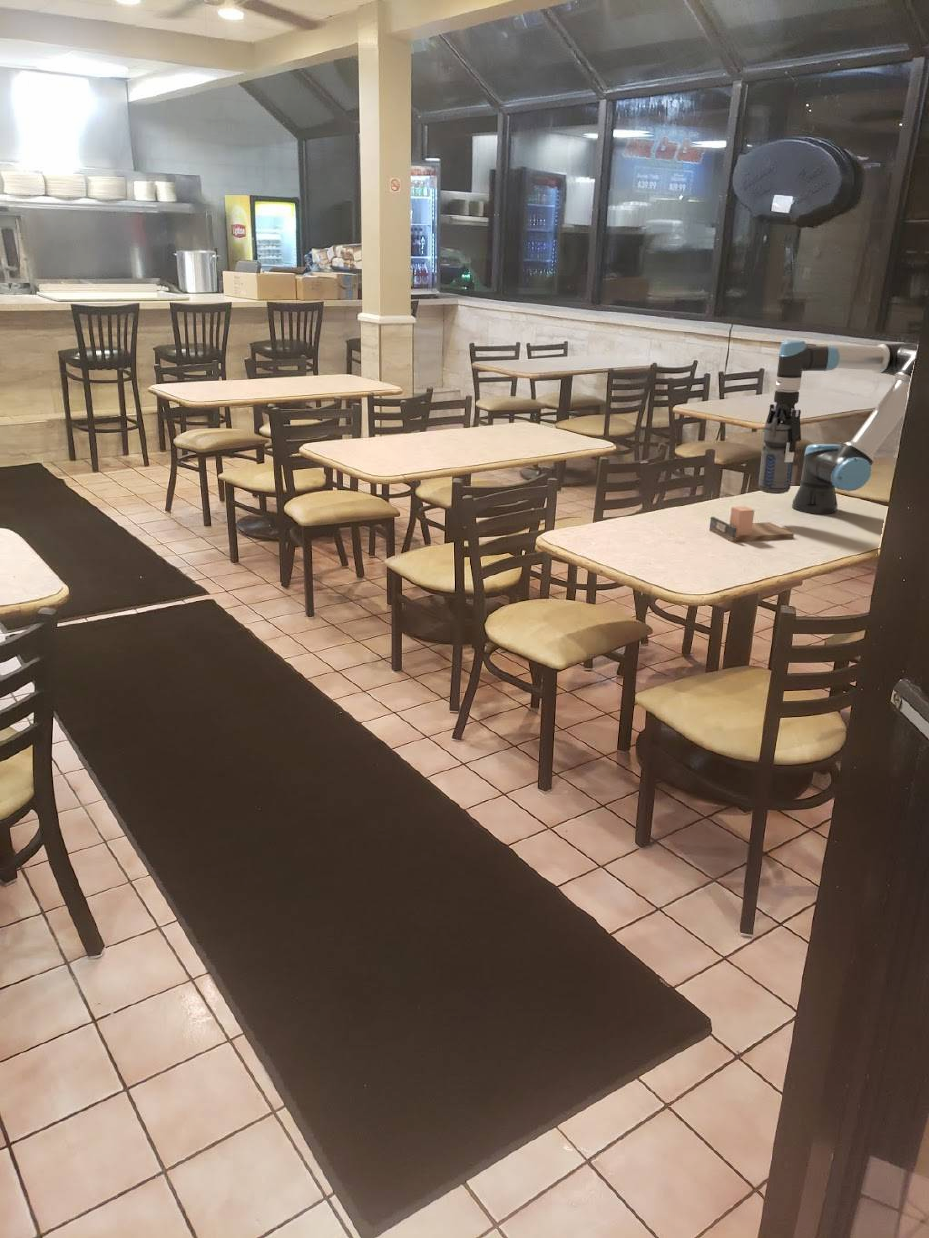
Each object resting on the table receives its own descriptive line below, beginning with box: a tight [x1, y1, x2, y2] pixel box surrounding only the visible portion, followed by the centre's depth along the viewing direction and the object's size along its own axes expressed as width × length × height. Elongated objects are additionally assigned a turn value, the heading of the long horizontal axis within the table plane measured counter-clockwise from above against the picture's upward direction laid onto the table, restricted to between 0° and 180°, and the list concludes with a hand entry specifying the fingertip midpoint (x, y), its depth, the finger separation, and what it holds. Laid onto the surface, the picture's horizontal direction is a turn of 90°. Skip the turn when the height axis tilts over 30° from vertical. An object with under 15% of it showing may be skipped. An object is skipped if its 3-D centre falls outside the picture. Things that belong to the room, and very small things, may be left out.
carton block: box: [729, 505, 755, 536], centre depth 300 cm, size 5×5×8 cm
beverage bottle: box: [757, 417, 795, 495], centre depth 314 cm, size 10×13×25 cm
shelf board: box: [708, 516, 795, 543], centre depth 305 cm, size 22×14×4 cm, turn 106°
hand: (778, 458), depth 314 cm, fingers closed on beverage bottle, 10 cm apart
